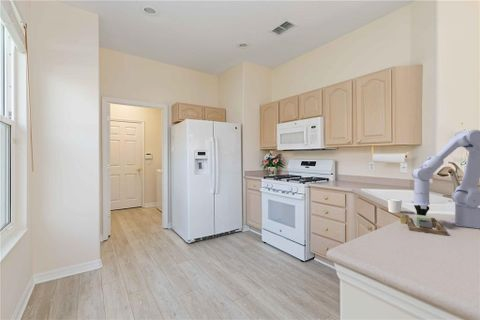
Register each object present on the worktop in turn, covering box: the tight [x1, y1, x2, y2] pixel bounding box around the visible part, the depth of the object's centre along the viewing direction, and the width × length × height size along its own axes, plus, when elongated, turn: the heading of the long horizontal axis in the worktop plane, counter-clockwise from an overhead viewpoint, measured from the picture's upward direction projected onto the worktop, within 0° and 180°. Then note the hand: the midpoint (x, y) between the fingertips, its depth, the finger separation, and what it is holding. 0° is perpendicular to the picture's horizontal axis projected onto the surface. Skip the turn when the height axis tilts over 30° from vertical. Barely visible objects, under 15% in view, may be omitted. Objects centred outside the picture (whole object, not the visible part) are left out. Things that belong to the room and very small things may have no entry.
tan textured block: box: [399, 213, 407, 225], centre depth 110 cm, size 2×3×4 cm, turn 148°
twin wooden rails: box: [405, 214, 447, 236], centre depth 105 cm, size 12×24×2 cm, turn 148°
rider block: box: [414, 214, 431, 227], centre depth 106 cm, size 5×5×4 cm
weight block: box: [418, 220, 433, 229], centre depth 99 cm, size 4×4×4 cm
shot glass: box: [387, 198, 403, 214], centre depth 130 cm, size 7×7×7 cm
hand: (421, 220), depth 109 cm, fingers closed
